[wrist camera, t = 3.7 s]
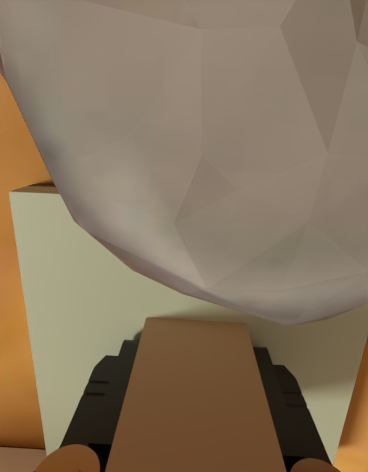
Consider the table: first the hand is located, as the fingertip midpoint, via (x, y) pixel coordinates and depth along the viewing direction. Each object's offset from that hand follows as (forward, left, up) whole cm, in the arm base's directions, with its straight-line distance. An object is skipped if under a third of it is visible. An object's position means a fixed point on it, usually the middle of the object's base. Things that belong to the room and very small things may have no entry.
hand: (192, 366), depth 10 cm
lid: (0, 0, -1) cm, 1 cm away
